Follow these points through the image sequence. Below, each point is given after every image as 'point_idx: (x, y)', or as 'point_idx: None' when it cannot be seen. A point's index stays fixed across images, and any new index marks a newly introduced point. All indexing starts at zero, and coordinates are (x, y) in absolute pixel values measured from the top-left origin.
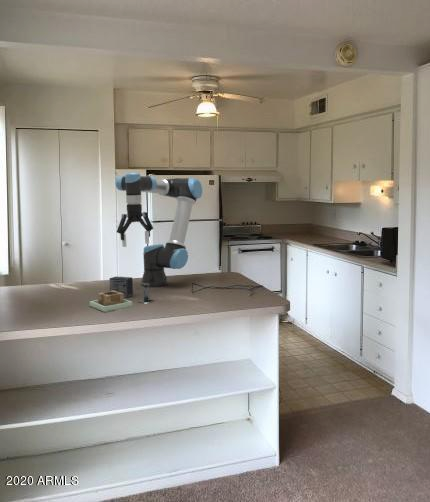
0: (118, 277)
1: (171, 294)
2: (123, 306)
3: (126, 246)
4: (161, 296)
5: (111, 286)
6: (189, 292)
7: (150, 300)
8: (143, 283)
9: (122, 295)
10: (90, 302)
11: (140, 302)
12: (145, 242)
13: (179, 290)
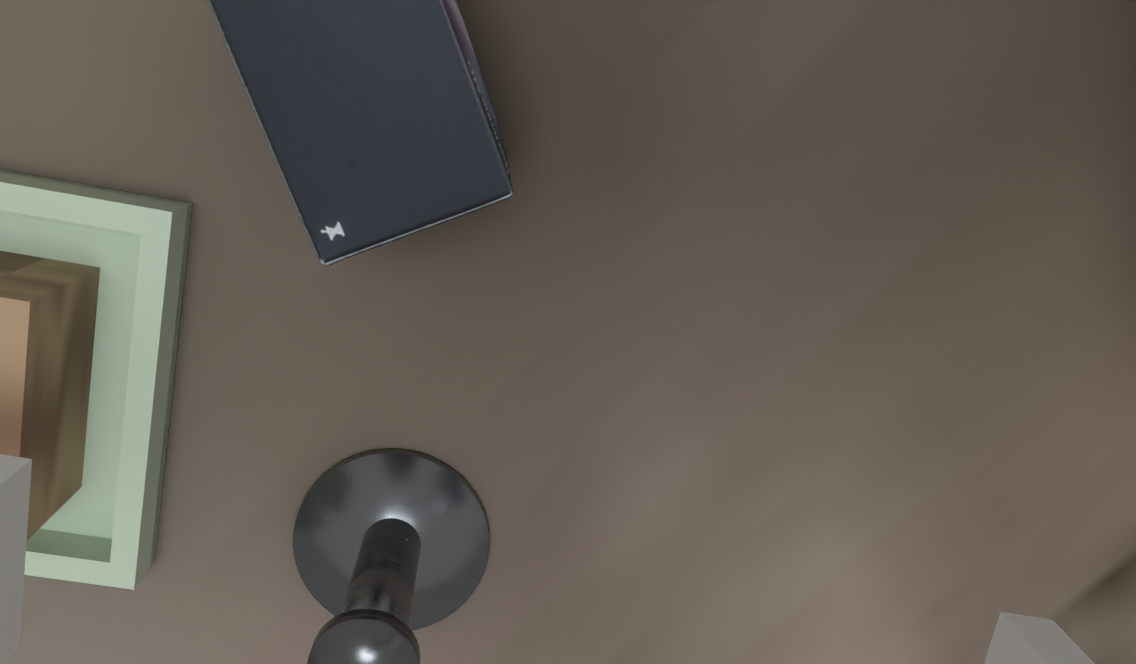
0: (326, 4)
1: (887, 463)
2: None
3: (12, 655)
4: (736, 444)
5: None
6: (1087, 554)
7: (461, 540)
8: (339, 644)
9: None
10: None
11: (314, 524)
12: (1013, 645)
13: (1119, 386)
